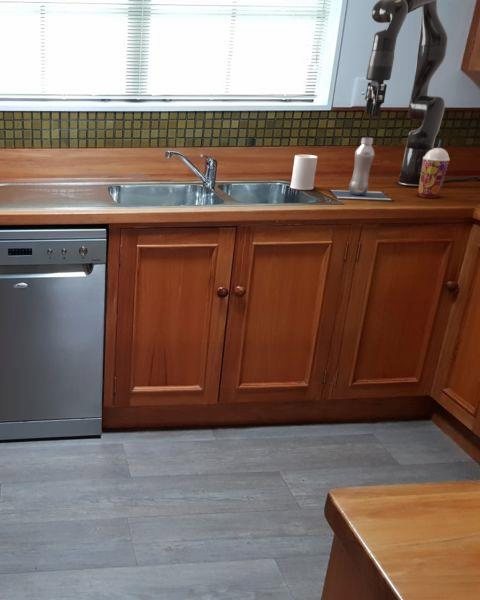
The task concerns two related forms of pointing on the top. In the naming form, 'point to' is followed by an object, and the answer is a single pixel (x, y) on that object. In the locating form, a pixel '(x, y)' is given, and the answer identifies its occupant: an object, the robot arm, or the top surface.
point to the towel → (367, 196)
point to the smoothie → (433, 172)
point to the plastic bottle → (362, 167)
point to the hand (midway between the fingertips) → (371, 115)
